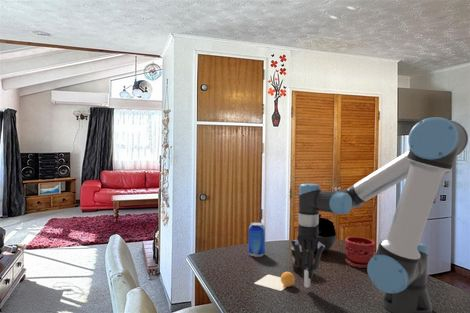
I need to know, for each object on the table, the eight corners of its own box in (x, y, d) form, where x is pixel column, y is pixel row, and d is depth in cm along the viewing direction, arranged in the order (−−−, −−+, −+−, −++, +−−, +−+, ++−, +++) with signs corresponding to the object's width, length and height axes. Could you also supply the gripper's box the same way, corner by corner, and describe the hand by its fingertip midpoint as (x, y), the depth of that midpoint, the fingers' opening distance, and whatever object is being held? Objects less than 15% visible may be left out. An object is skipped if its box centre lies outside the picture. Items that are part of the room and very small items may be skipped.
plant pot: (346, 268, 151) (346, 242, 151) (343, 259, 164) (344, 235, 164) (376, 271, 148) (377, 244, 148) (371, 261, 161) (372, 237, 160)
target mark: (294, 281, 135) (294, 280, 135) (281, 291, 125) (281, 290, 125) (268, 274, 141) (268, 274, 141) (253, 283, 131) (253, 283, 131)
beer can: (246, 256, 166) (247, 224, 166) (250, 251, 174) (251, 221, 174) (262, 258, 164) (263, 226, 163) (266, 253, 172) (266, 222, 171)
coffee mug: (310, 275, 141) (311, 252, 141) (290, 273, 143) (290, 250, 143) (310, 266, 153) (310, 244, 153) (291, 264, 154) (291, 243, 154)
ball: (281, 274, 134) (290, 286, 132) (275, 278, 130) (284, 291, 127) (290, 267, 132) (299, 279, 130) (284, 271, 127) (293, 283, 125)
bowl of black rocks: (322, 259, 163) (323, 221, 162) (290, 250, 177) (291, 215, 177) (343, 251, 176) (344, 216, 176) (312, 243, 191) (312, 211, 191)
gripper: (328, 225, 124) (327, 287, 125) (296, 220, 132) (295, 279, 132) (321, 228, 118) (320, 294, 118) (288, 223, 125) (287, 285, 126)
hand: (307, 286), depth 125 cm, fingers closed
